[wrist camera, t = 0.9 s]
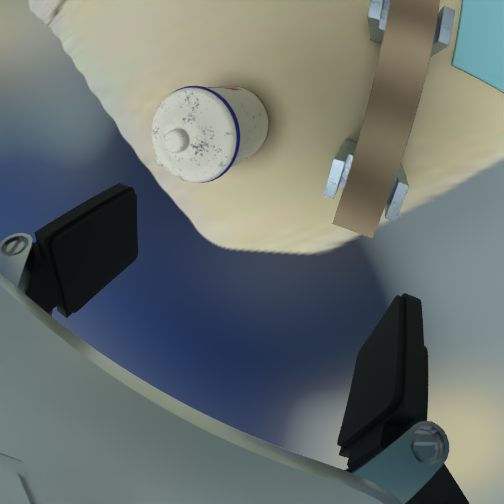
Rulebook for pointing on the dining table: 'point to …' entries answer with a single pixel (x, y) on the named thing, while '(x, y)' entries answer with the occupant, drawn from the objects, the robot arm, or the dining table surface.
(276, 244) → the dining table surface
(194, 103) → the teacup with lid
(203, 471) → the robot arm
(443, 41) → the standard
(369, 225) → the rail
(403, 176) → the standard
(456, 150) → the dining table surface
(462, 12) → the mat
